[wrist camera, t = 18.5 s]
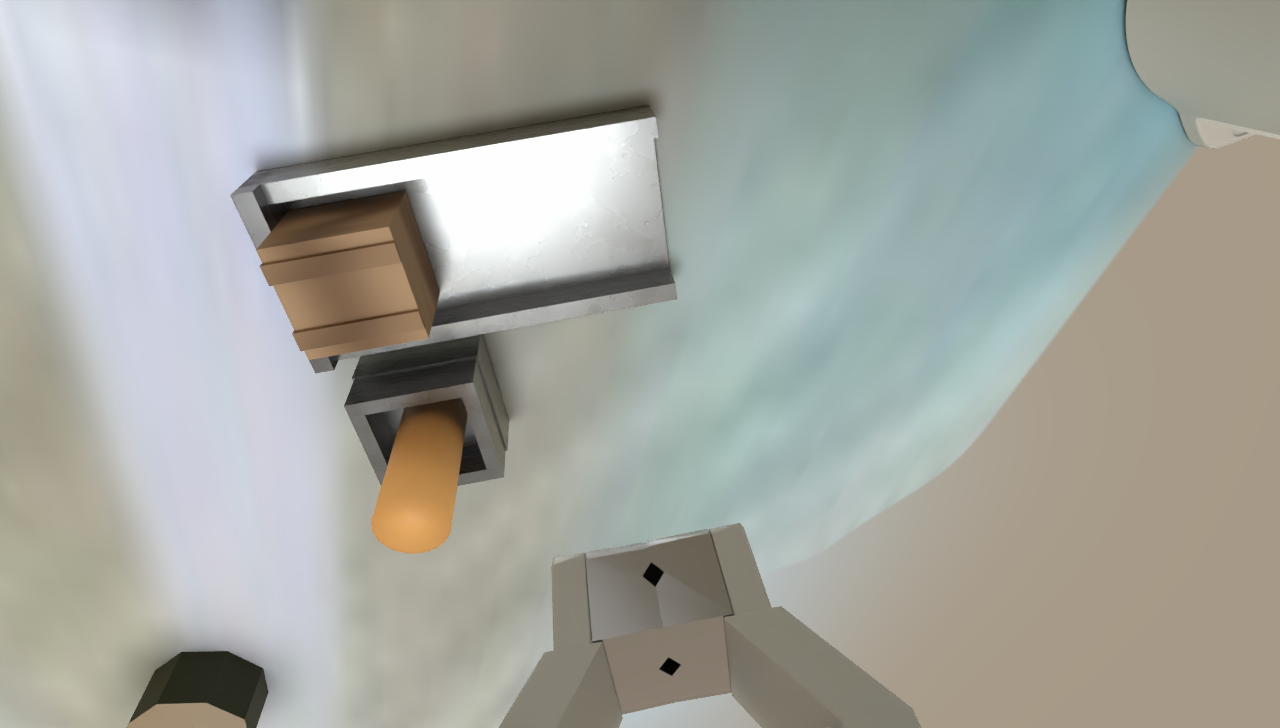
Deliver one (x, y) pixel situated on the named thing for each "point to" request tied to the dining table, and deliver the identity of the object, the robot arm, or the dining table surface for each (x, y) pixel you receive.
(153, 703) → the wine bottle
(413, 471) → the round peg
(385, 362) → the square tube sleeve
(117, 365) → the dining table surface
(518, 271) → the bay
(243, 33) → the dining table surface
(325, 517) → the dining table surface
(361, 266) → the crate
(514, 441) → the dining table surface
